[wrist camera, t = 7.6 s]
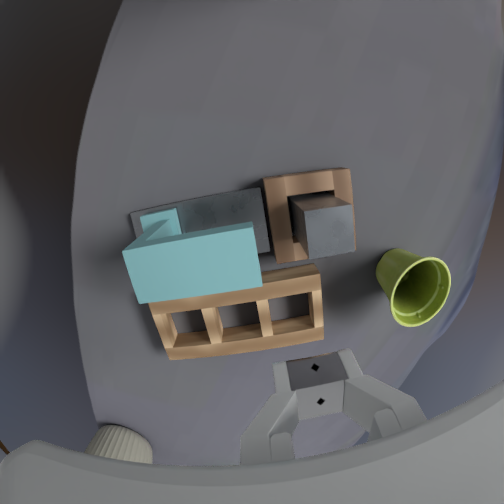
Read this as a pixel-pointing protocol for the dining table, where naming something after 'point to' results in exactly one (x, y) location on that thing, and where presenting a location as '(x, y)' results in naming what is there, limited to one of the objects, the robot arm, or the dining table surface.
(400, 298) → the plant pot
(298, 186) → the socket frame
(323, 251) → the grey rectangular block
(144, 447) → the canister
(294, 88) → the dining table surface
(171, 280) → the plate
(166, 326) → the rack
